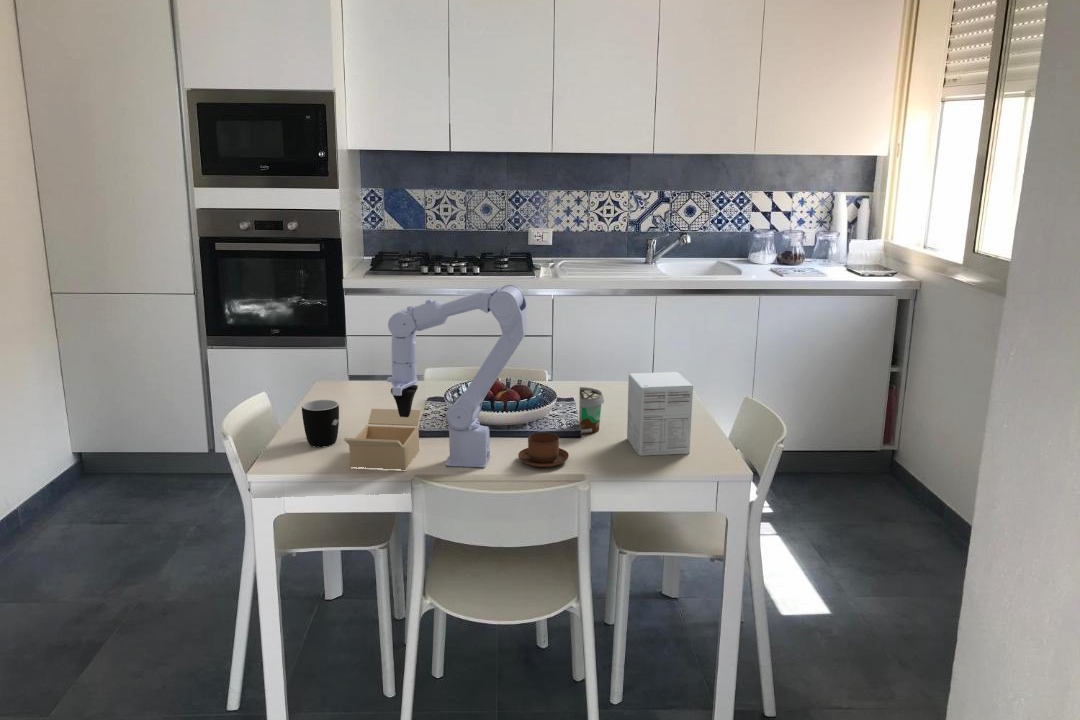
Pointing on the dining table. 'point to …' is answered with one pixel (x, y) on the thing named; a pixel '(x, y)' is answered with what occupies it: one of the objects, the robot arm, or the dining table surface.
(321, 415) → the mug
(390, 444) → the near flap
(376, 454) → the carton
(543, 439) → the cup and saucer
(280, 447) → the dining table surface
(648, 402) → the supplement box
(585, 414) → the food container
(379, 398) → the dining table surface
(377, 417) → the far flap
